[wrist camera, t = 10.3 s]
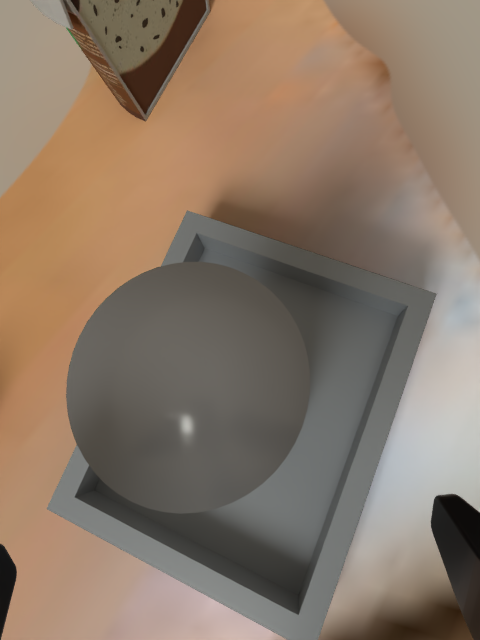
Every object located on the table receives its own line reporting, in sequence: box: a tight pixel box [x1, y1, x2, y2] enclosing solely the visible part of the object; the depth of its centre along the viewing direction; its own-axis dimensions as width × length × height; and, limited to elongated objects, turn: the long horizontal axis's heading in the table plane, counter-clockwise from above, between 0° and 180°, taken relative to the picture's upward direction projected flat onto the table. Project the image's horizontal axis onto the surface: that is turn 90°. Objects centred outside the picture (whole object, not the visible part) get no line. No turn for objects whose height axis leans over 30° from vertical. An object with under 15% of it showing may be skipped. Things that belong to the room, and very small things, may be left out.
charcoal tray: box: [47, 211, 436, 640], centre depth 21 cm, size 16×13×3 cm
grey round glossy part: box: [66, 262, 310, 514], centre depth 15 cm, size 6×6×12 cm
